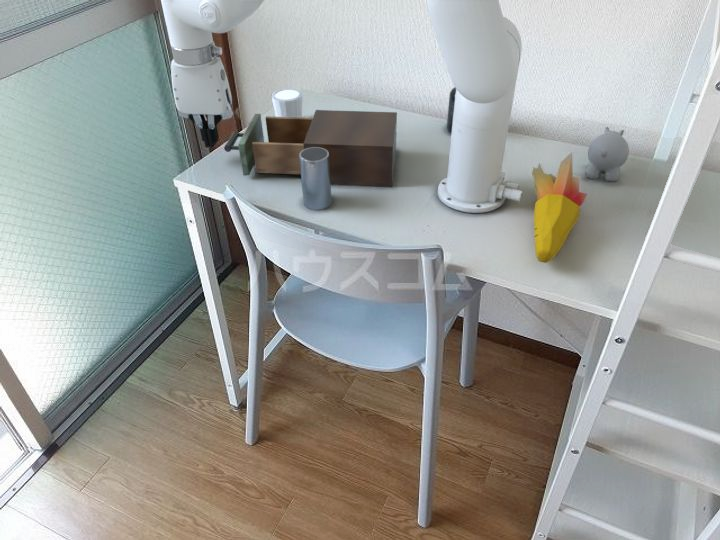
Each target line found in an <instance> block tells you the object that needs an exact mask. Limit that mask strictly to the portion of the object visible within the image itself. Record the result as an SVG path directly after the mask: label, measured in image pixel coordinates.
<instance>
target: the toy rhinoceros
mask: <svg viewBox="0 0 720 540" xmlns="http://www.w3.org/2000/svg"><path fill="white" fill-rule="evenodd" d="M624 132H625V129H620V130H619V131H616V130H611V129H610V127H609V126H605V128H604V133H601V134H599V135H598V136H596V137H594V139H593V140H591V142H590V144H589V146H588V150H587V158H588V160H589V161H588V164H587V168H586V170H585V172H584V175H585V177H586V178H588V179H590V180H597V179H598V178H599V177H600V174H601V175H604V180H606V181H607V182H610V183H615V182H617V181H618V180H619V178H620V174H621V173H620V169H621V167H622V166H623V165H625V163H626V161H627V160H628V157H629V156H630V155H629V154H630V146H629V144H628V142H627V140H626V139H625V138H624V137H623V135H624Z"/></svg>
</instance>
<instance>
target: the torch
mask: <svg viewBox="0 0 720 540" xmlns="http://www.w3.org/2000/svg"><path fill="white" fill-rule="evenodd" d="M531 176H532V178H533V181H534V187H535V193H536V199H537V200H536V201H535V202H534V203H535V204H534V210H533V231H534V236H533V237H534V252H535V256H536V259H537V261H538V262H539V263H544V264H547V263H549V262H552V260H553V259H554V258H555V257H556V256H557V255H558V253H559V252H560V250H561V249H562V248H563V246H564V244H565V242H566V241H567V239H568V236H569V235H570V232H571V231H572V230H573V228H574V227H575V225H576V224H577V222H578V220H579V219H580V210H581V209H580V207H581V206H582V205H583V203H584V202H585V200H586V198H587V196H588V193H586V192H582V191H580V183H581V181H580V180H581V176H579V175H573V151H571V152H570V153H569V154H568V155H567V156H566V157H565V158H563V160H561V162H560V164H559V167H558V170H557V174H556V176H555V175H554V174H553V173H549V174H547V173H546V172H544V169H543V168H542V165H541V163H539V164H538V165H537V168H536V167H532V171H531Z"/></svg>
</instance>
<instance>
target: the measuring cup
mask: <svg viewBox="0 0 720 540" xmlns="http://www.w3.org/2000/svg"><path fill="white" fill-rule="evenodd" d="M299 158H300V169H301V174H300V178H301V179H300V180H301V189H302V200H303V206H304V207H305V208H306V209H308V210H312V211H320V210H321V211H322V210H325V209H327V208H329V207H330V206H331V205H332V200H333V199H332V187H331V185H332V184H331V181H330V163H329V152H328V151H327V150H326V149H324V148H320V147H311V148H307V149H304V150H302V151H301V152H300V154H299Z"/></svg>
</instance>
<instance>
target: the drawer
mask: <svg viewBox="0 0 720 540" xmlns="http://www.w3.org/2000/svg"><path fill="white" fill-rule="evenodd" d="M312 119H313V117H303V116H302V117H276V116H269V115H267V116H265V125H266V132H267V133H266V134H267V140H268V141H265V136H264V129H263V122H262V114H261V113H254V115H253V117H252V118H251V120H250V122H249V124H248V126H247V127H246V129H245V130H244V132H239V131H238V130H233V131H232V133H231V135H230V137H229V139H228V140H227V141H226V143H225V144H224V147H223V148H224V151H225V152H227V153H230V152H231V151H238V152H239V158H240V163H241V169H242V175H243V176H250V174H251V172H252V171H253V169H254V166H255V172H256V174H257V173H258V174H279V175H280V174H281V175H282V174H283V175H301V169H300V158H299V154H300V152H301V151H302V150H304V145H303V143H304V141H305V138H306V135H307V133H308V130H309V127H310V125H311V122H312ZM239 138H240V139H239ZM238 139H239V142H238V144H237V145H235V144H236V142H237V141H238Z"/></svg>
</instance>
